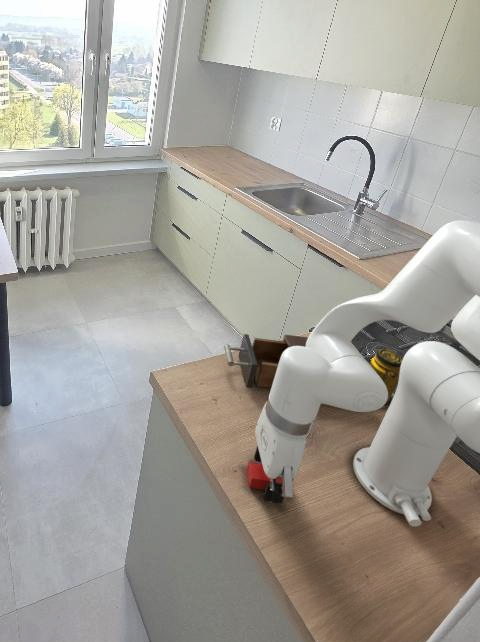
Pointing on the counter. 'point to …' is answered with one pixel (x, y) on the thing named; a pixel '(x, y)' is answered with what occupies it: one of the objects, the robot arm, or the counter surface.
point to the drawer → (257, 359)
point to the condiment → (387, 370)
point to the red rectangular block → (258, 476)
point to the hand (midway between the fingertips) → (267, 479)
